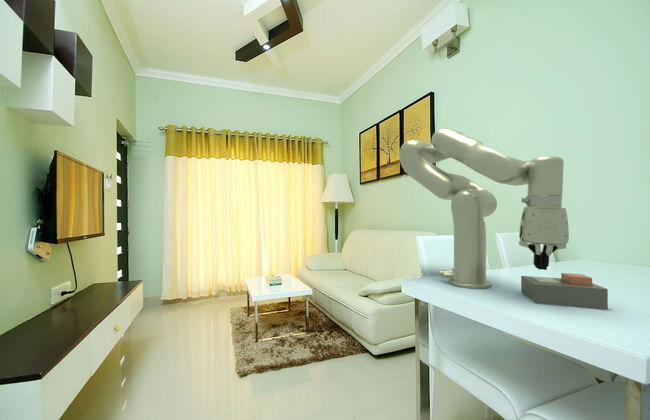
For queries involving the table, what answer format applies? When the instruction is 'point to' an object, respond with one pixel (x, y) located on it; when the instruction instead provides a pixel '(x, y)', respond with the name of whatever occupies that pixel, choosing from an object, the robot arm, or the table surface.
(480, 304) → the table surface
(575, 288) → the key panel
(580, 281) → the red key
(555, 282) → the cream key
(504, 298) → the table surface
